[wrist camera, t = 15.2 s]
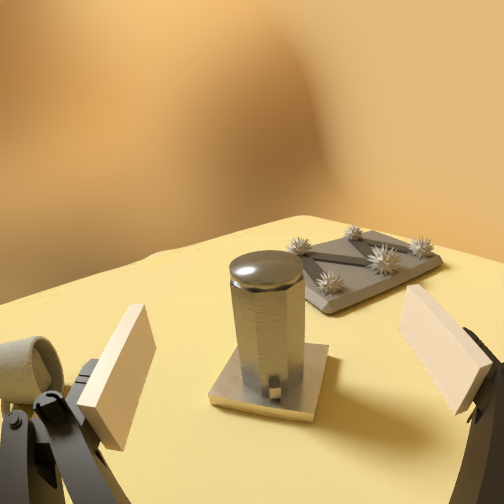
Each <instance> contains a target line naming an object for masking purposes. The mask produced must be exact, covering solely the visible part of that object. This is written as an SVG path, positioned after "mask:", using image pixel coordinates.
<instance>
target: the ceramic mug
mask: <svg viewBox="0 0 504 504" xmlns="http://www.w3.org/2000/svg"><path fill="white" fill-rule="evenodd" d="M47 391H57V392H59V393H61V395H62V396H63V392H64V375H63V369H62V366H61V362H60V359H59V357H58V354H57V352H56V350H55V348H54V347H53V345H52V344H51V343H50V341H49V340H48V339H46V338H45V337H42V336H35V337H31V338H27V339H22V340H17V341H13V342H6V343H2V344H0V398H1V399H2V400H1V412H2V417H3V419H4V417H5V416H6V415H7V414H8V413H9V412H10V403H13V404H32V405H33V404H34V401H35V399H36V398H37V397H38V396H39V395H40V394H42V393H44V392H47ZM32 418H39V417H38V416H37V414H36V413H35V411H34V412H33V415H32Z"/></svg>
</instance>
